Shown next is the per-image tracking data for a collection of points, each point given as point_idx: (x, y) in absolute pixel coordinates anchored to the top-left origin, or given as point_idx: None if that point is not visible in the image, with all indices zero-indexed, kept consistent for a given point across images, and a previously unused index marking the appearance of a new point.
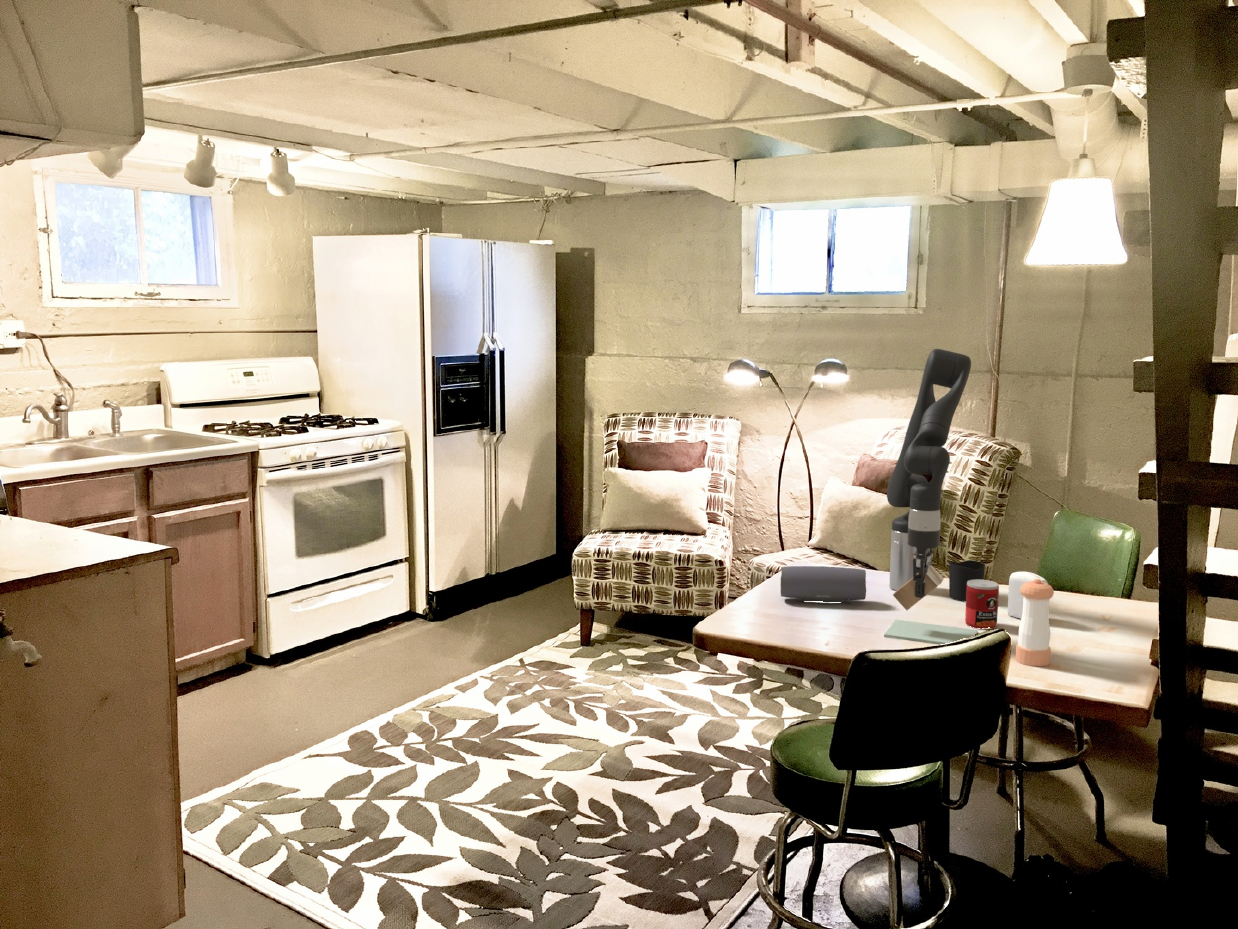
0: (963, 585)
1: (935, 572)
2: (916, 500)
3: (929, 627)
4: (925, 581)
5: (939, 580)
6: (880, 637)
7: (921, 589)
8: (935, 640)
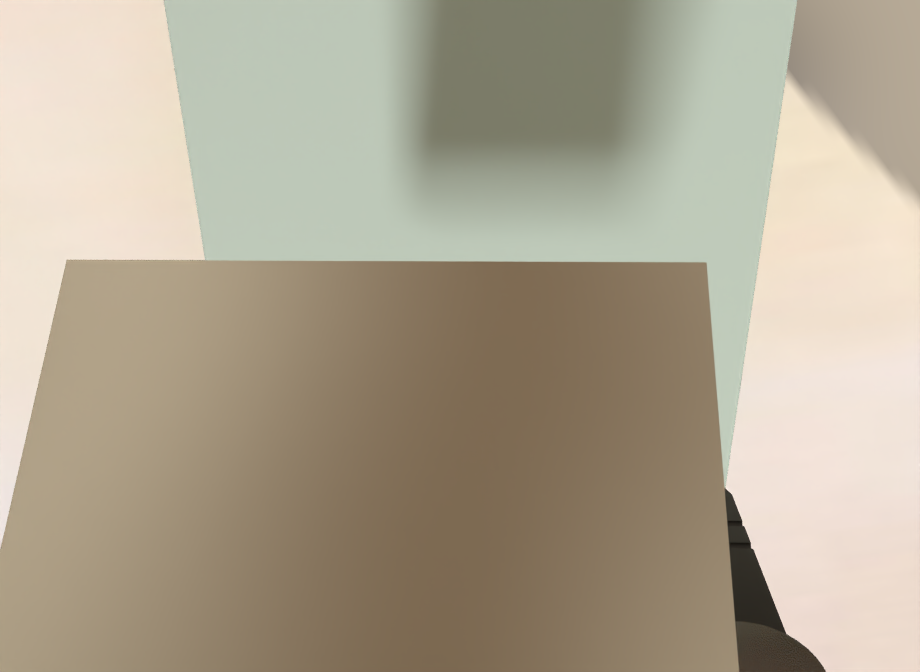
0: None
1: (236, 611)
2: None
3: (322, 204)
4: (767, 645)
5: (571, 346)
6: (743, 518)
7: (751, 564)
8: (755, 70)
